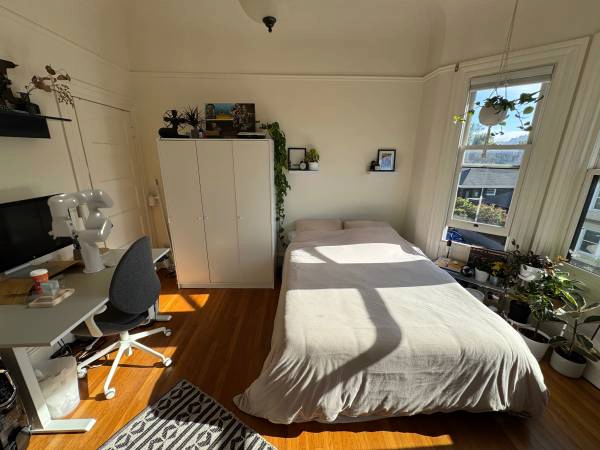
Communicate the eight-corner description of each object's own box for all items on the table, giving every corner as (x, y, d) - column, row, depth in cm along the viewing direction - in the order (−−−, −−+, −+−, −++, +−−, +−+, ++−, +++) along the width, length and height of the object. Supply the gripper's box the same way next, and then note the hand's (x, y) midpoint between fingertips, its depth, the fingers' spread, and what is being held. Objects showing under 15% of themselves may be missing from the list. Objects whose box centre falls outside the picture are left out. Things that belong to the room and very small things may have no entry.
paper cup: (41, 295, 147) (35, 274, 144) (31, 293, 149) (25, 273, 145) (56, 289, 155) (50, 269, 151) (46, 287, 156) (41, 267, 152)
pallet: (52, 291, 147) (49, 279, 145) (65, 291, 148) (62, 278, 146) (39, 299, 138) (35, 286, 136) (52, 299, 139) (49, 286, 137)
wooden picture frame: (53, 292, 151) (52, 288, 150) (74, 291, 152) (74, 288, 151) (29, 307, 135) (28, 303, 135) (53, 306, 137) (52, 302, 136)
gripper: (81, 217, 154) (86, 242, 158) (50, 217, 152) (57, 242, 156) (71, 220, 147) (77, 246, 151) (40, 220, 144) (46, 246, 149)
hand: (67, 244), depth 154 cm, fingers open, 9 cm apart
